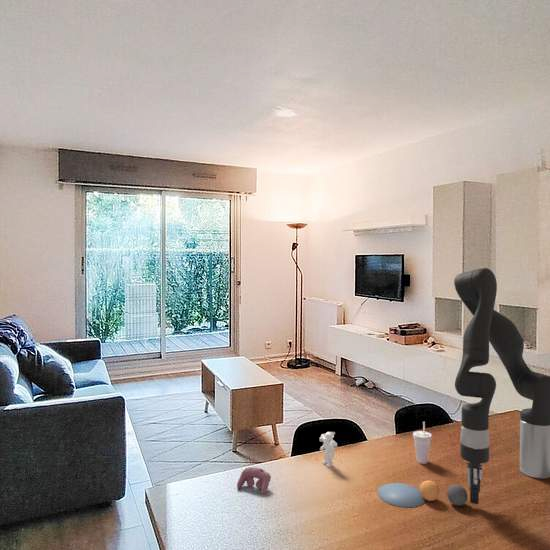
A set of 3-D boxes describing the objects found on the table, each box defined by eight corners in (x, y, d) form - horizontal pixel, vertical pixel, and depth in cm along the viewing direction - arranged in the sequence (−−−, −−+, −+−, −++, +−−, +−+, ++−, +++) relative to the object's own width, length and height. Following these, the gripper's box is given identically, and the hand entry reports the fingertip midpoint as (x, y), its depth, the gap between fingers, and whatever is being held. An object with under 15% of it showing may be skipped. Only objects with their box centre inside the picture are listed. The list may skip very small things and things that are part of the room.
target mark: (411, 481, 146) (411, 481, 146) (435, 504, 133) (435, 503, 133) (370, 486, 143) (370, 485, 143) (390, 509, 130) (390, 509, 130)
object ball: (438, 491, 138) (425, 475, 139) (446, 492, 133) (432, 476, 134) (426, 504, 136) (413, 488, 137) (433, 506, 131) (419, 490, 132)
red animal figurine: (269, 495, 141) (273, 471, 144) (263, 494, 137) (268, 470, 140) (241, 489, 145) (245, 465, 148) (234, 488, 141) (239, 464, 144)
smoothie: (432, 466, 157) (433, 425, 157) (413, 464, 159) (413, 424, 158) (430, 458, 164) (430, 419, 163) (411, 456, 165) (411, 418, 165)
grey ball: (458, 479, 136) (450, 495, 137) (448, 480, 132) (440, 496, 133) (474, 493, 132) (465, 509, 132) (464, 494, 128) (455, 510, 129)
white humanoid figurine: (339, 468, 156) (339, 433, 156) (329, 470, 154) (329, 435, 154) (326, 458, 164) (326, 424, 164) (316, 460, 163) (316, 426, 162)
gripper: (460, 432, 138) (459, 489, 138) (460, 449, 125) (460, 511, 126) (487, 435, 135) (486, 493, 135) (491, 453, 123) (490, 517, 123)
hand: (474, 502), depth 131 cm, fingers closed
